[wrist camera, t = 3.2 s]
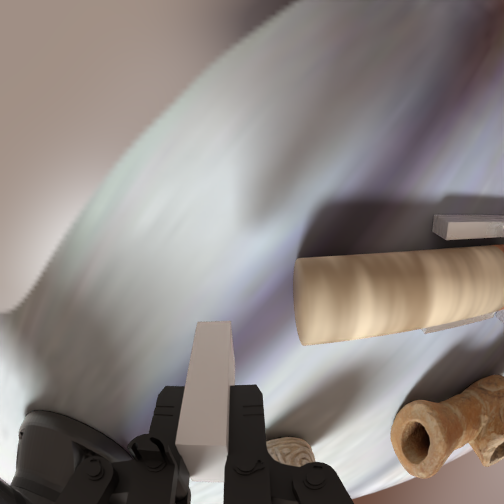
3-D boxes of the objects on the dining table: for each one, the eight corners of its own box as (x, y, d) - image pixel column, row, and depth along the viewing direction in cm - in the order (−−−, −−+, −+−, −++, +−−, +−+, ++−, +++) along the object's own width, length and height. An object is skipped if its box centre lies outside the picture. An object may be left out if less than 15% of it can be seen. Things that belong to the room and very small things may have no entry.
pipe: (401, 384, 25) (444, 466, 15) (512, 345, 25) (559, 397, 16) (383, 437, 28) (410, 506, 19) (487, 397, 28) (521, 448, 19)
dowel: (292, 316, 21) (307, 363, 16) (293, 246, 19) (311, 280, 14) (501, 287, 21) (534, 312, 17) (512, 234, 20) (551, 254, 15)
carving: (259, 467, 28) (267, 559, 17) (240, 434, 26) (245, 547, 15) (315, 456, 28) (335, 548, 17) (306, 420, 25) (331, 534, 14)
